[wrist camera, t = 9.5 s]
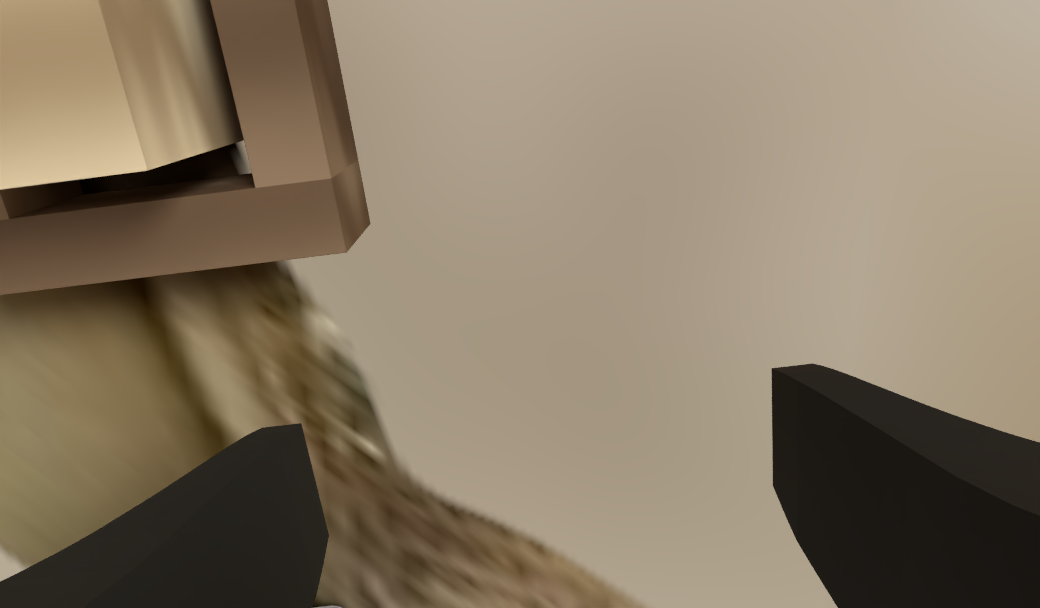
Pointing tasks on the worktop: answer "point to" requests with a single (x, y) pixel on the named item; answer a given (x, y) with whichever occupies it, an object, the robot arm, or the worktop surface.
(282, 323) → the worktop surface
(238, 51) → the brown square frame
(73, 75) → the oak block
